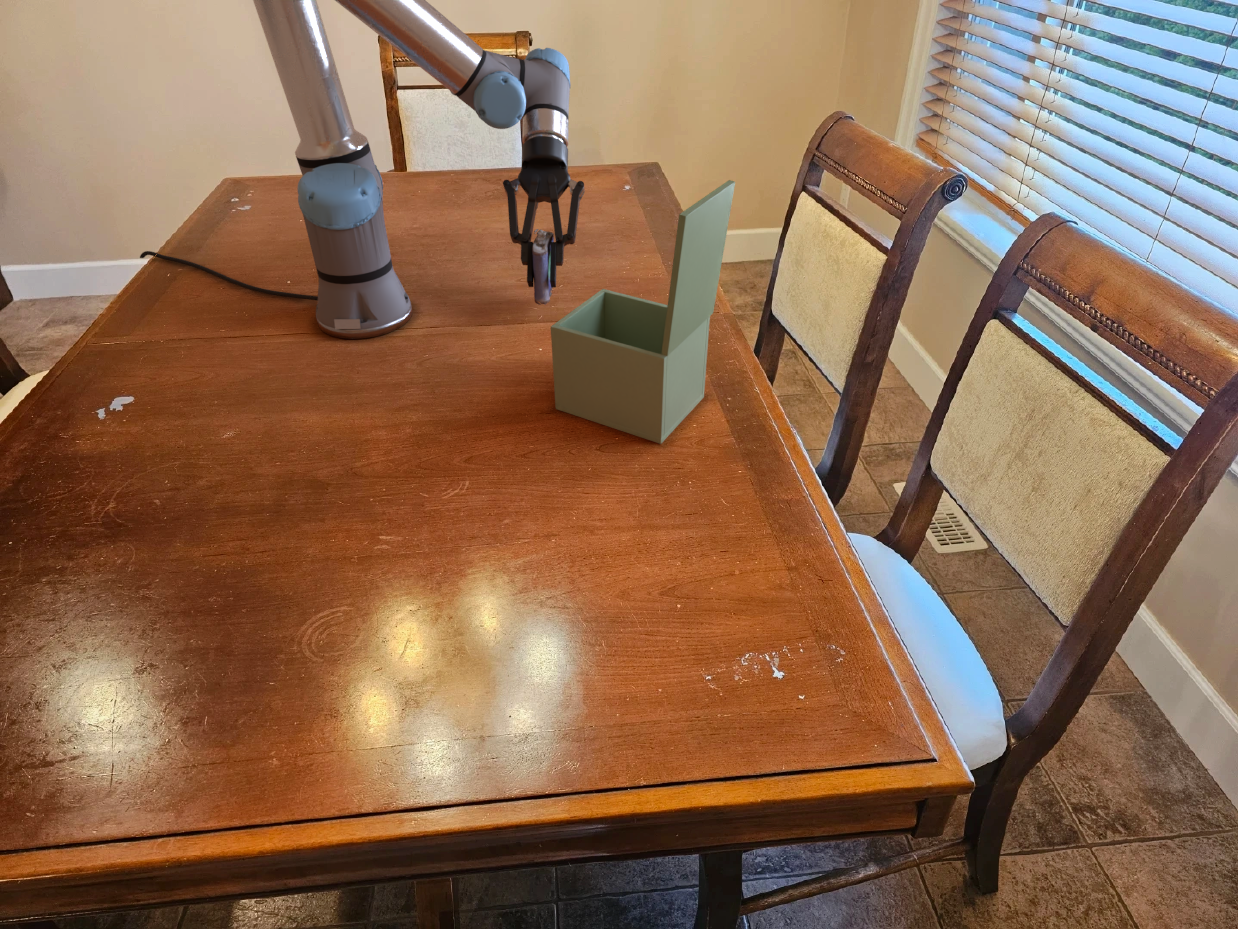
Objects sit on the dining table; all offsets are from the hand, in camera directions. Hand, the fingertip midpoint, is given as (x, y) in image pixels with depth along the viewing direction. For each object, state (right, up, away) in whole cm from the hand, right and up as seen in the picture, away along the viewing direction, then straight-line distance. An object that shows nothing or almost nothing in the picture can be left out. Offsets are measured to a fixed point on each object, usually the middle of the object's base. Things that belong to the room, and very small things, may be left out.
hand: (541, 283), depth 127 cm
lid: (+21, -5, -32) cm, 39 cm away
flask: (0, 0, +5) cm, 5 cm away
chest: (+14, -20, -15) cm, 29 cm away
